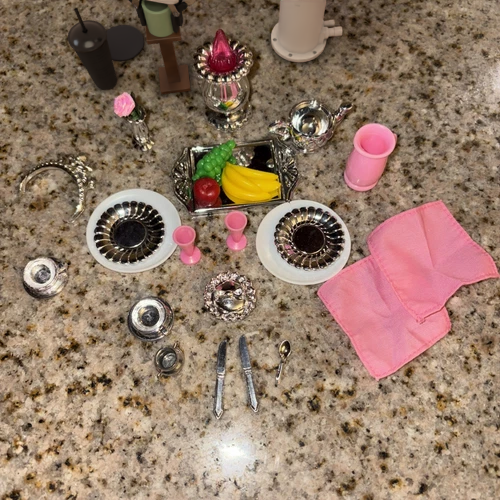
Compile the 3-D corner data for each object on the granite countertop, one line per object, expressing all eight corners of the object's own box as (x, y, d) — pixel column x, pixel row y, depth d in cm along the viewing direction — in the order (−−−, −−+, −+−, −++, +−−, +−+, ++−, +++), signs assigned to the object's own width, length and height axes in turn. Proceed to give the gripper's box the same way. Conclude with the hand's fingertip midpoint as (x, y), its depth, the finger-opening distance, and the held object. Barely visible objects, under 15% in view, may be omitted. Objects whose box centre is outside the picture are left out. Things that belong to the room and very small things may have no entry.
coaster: (142, 23, 114) (142, 22, 114) (145, 58, 111) (145, 57, 110) (99, 28, 114) (98, 27, 113) (101, 63, 110) (100, 62, 110)
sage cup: (175, 12, 95) (171, -12, 89) (178, 35, 93) (173, 11, 87) (146, 15, 94) (140, -9, 89) (148, 38, 92) (142, 15, 87)
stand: (187, 67, 110) (177, 10, 95) (190, 91, 108) (180, 37, 93) (159, 70, 110) (144, 14, 94) (161, 94, 107) (146, 40, 92)
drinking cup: (121, 95, 107) (94, 26, 88) (87, 95, 107) (51, 25, 89) (125, 67, 110) (99, -7, 91) (91, 66, 110) (58, -7, 91)
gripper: (201, -74, 77) (210, 17, 94) (97, -92, 78) (125, 0, 95) (188, -39, 74) (200, 47, 91) (81, -59, 76) (112, 30, 93)
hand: (161, 23), depth 93 cm, fingers closed on sage cup, 5 cm apart
